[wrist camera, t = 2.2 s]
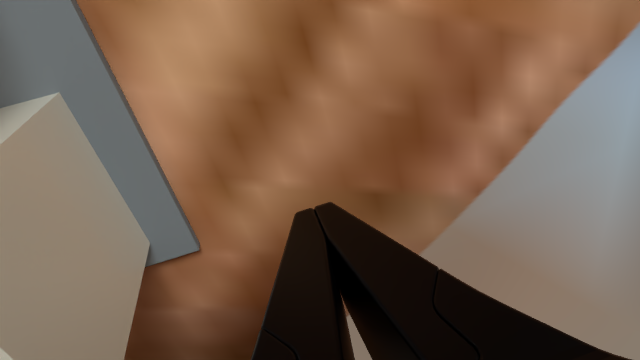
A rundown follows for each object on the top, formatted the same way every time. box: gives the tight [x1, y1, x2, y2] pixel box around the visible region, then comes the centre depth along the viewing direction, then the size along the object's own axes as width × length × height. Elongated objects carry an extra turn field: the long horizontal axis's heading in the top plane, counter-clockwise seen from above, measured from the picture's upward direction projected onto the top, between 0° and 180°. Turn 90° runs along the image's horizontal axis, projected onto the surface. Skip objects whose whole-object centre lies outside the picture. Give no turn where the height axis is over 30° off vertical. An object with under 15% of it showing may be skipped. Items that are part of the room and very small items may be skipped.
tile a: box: [0, 93, 150, 360], centre depth 10 cm, size 6×2×7 cm, turn 13°
